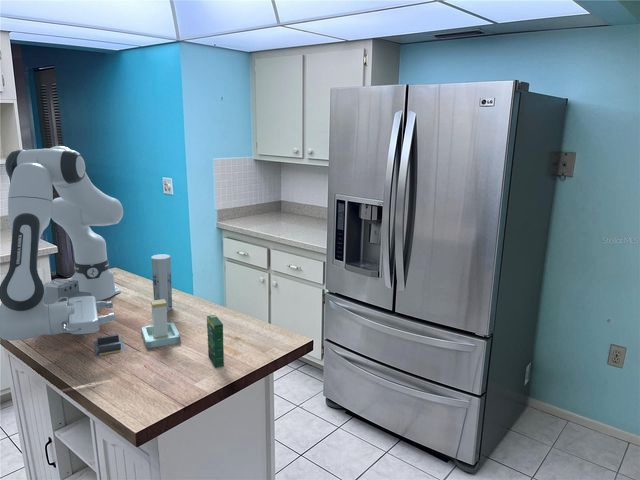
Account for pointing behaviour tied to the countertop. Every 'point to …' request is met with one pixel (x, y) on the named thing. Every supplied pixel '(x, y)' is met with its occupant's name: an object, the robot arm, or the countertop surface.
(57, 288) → the circuit breaker
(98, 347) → the rails
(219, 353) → the coffee box
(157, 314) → the fuse
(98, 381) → the countertop surface
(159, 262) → the spray can
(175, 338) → the tray
